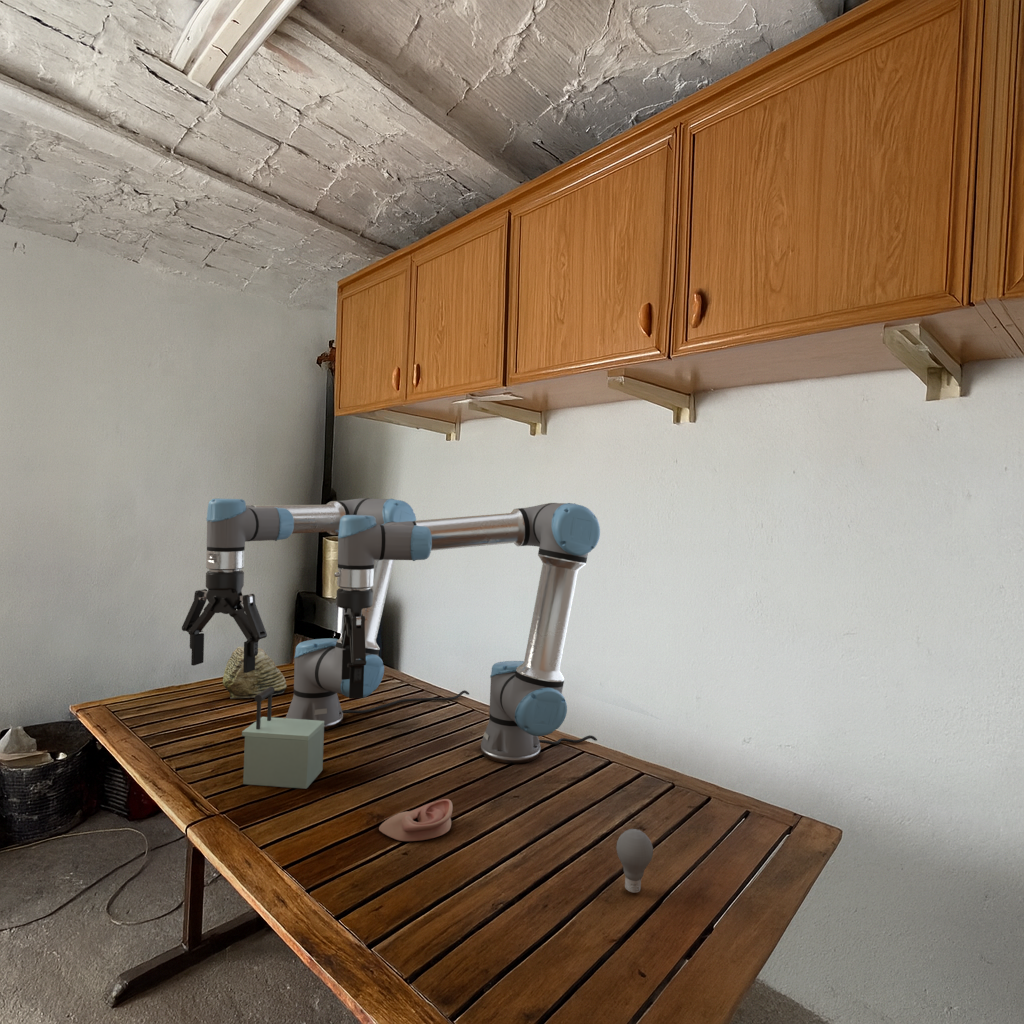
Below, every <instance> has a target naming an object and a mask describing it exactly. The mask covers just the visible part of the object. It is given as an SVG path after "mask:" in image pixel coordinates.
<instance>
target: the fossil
mask: <svg viewBox="0 0 1024 1024" xmlns="http://www.w3.org/2000/svg"><path fill="white" fill-rule="evenodd" d="M243 665H244V646H238V647H237V648H236V649H235V650H233V651H232V653H231V656H230V657H229V659H228V660H227V663H226V666H225V668H224V671H223V675H222V676H223V677H222V685H223V687H224V688H225V690H226V691H228V693H229V698H230V699H250V698H255V696H256V695H258V694H259V693H261V692H262V691H264V690H265V689H267V688H269V687H273V688H274V689H275V691H274V693H273V694H272V696H275V695H281V694H284V693H285V691H286V689H287V687H288V686H287V680H286V678H285V676H284V674H283V673H282V672H281V669H279V668H278V667H277V665H276V663H275V662H274V660H273V659H272V658H271V657H270V656H269V655H268V654H267V653H266V652H265V650H264V649H263V648H260V647H258V654H257V656H255V670H253V671H250V672H247V673H243Z"/></svg>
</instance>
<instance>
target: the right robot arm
mask: <svg viewBox="0 0 1024 1024" xmlns="http://www.w3.org/2000/svg"><path fill="white" fill-rule="evenodd" d="M600 537H601V526H600V522H599V519H598V517H596V515H595V514H594V512H593V511H592V510H591V509H590V508H588V507H587V506H584V505H581V504H577V503H576V502H575V503H571V502H567V503H566V502H549V503H542V504H537V505H534V506H527V507H521V508H520V507H519V508H514V509H513V510H512V511H511V512H508V513H507V512H506V513H495V514H484V515H483V514H482V515H481V514H480V515H471V516H470V515H469V516H458V517H457V516H456V517H444V518H434V519H431V518H430V519H421V520H419V519H418V520H416V521H407V522H386V523H384V524H382V525H376V519H375V517H374V516H368V515H344V516H343V517H342V518H341V519H340V524H339V535H337V572H334V574H333V575H334V577H335V578H336V579H337V580H336V585H337V587H338V588H337V590H336V595H335V597H336V599H335V601H336V602H335V605H336V606H337V608H339V609H343V610H344V613H343V623H342V624H343V625H342V634H341V637H342V640H341V642H342V647H343V649H345V650H342V678H341V679H342V680H346V679H350V681H349V697H348V699H350V700H353V699H364V698H363V686H364V665H366V650H365V616H363V614H362V609H363V608H369V607H371V606H372V605H373V590H372V589H371V587H373V586H374V560H394V561H413V562H416V561H425V560H427V559H429V558H430V555H431V553H432V551H442V550H454V549H465V548H476V547H484V546H497V545H507V544H514V545H515V546H516V547H538V553H537V556H538V558H539V559H540V561H541V563H542V565H541V571H540V576H539V580H538V586H537V591H536V597H535V602H534V608H533V611H532V619H531V623H530V628H529V633H528V638H527V639H528V640H527V644H526V650H525V655H524V660H503V661H498V662H495V663H494V664H492V666H491V670H490V671H491V672H490V675H489V678H490V685H489V686H490V687H489V688H490V689H489V714H488V715H489V716H488V717H489V718H488V722H487V725H486V728H485V730H484V733H483V737H482V739H481V742H480V753H481V755H482V756H483V757H485V758H486V759H488V760H490V761H494V762H496V763H502V764H511V765H513V764H514V765H515V764H524V763H529V762H533V761H535V760H537V759H538V758H539V757H540V756H541V744H547V745H551V746H558V745H559V744H560V743H561V742H567V743H571V744H581V743H583V742H585V741H587V740H589V739H591V740H593V741H595V742H596V741H598V738H597V737H595V736H594V735H585V736H584V737H582V738H580V739H579V738H578V739H572V738H571V739H570V738H566V737H561V738H559V739H558V740H557V741H551V740H546V739H539V737H545V736H549V735H551V734H553V733H554V732H555V731H557V730H558V729H559V728H560V727H561V726H562V725H563V723H564V722H565V719H566V717H567V713H568V703H567V701H566V698H565V696H564V694H563V689H564V683H565V677H564V675H563V673H562V672H561V665H562V664H561V663H562V658H563V653H564V648H565V643H566V639H567V638H566V637H567V631H568V628H569V627H568V626H569V621H570V616H571V612H572V611H571V610H572V605H573V600H574V595H575V590H576V585H577V579H578V573H579V570H581V569H582V568H583V567H584V566H586V565H587V562H588V561H587V560H588V556H589V553H591V551H592V550H593V549H595V548H596V546H597V545H598V543H599V541H600ZM356 659H359V660H356Z"/></svg>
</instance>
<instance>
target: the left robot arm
mask: <svg viewBox="0 0 1024 1024" xmlns="http://www.w3.org/2000/svg"><path fill="white" fill-rule="evenodd" d="M344 515H368V516H374V517H375V519H376V525H382V524H384V523H386V522H407V521H417V516H416V513H415V512H414V509H413V507H412V506H411V505H410V504H409V503H408V502H406V501H405V500H401V499H395V498H372V497H371V498H370V497H361V498H354V499H353V498H351V499H345V500H331V501H329V502H327V503H326V504H255V505H254V504H252V505H247V503H246V500H245V499H243V498H241V499H240V498H212V499H210V500H209V502H208V504H207V512H206V518H205V519H206V520H205V521H206V558H205V559H206V563H205V564H206V569H207V571H206V572H205V588H203V589H197V590H195V591H194V596H193V601H192V603H191V606H190V608H189V609H188V612H187V614H186V617H185V619H184V621H183V623H182V626H181V630H182V632H187V633H188V635H189V649H190V650H191V657H190V658H191V663H190V664H191V666H197V665H199V664H200V665H201V664H203V663H204V662H205V661H204V657H205V656H204V655H205V654H204V653H205V649H204V648H205V633H204V631H203V630H204V628H206V625H207V624H208V623H209V622H210V620H211V619H212V618H213V617H214V616H215V614H223V615H229V616H230V617H231V618H233V620H234V622H235V623H236V624H237V627H238V628H239V629H240V631H241V632H242V634H243V635H244V637H245V639H246V641H244V642H243V647H244V665H243V673H247V672H250V671H253V670H255V656H257V654H258V648H259V641H260V640H262V639H265V638H267V637H268V633H267V631H266V628H265V625H264V622H263V619H262V618H261V615H260V612H259V609H258V607H257V605H256V595H255V594H254V593H248V594H243V592H242V590H243V587H244V586H245V572H244V570H242V569H244V568H245V549H246V542H265V541H274V542H277V541H282V540H287V539H288V538H289V537H291V536H292V535H293V534H313V533H328V534H329V535H332V536H338V535H339V524H340V519H341V518H342V517H343V516H344ZM394 563H395V560H374V586H373V587H371V589H372V590H373V605H372V606H371V607H369V608H363V609H362V614H363V616H365V650H366V665H364V686H363V698H362V699H365V698H367V697H369V696H370V695H372V694H373V692H375V691H376V690H377V689H378V687H379V686H380V684H381V683H382V680H383V677H384V674H385V665H384V662H383V659H382V658H381V657H380V656H379V654H380V650H381V648H380V646H379V645H378V643H377V638H378V634H379V629H380V625H381V620H382V616H383V611H384V607H385V603H386V598H387V594H388V589H389V586H390V581H391V577H392V571H393V568H394ZM207 602H208V603H207ZM206 603H207V604H206ZM341 640H342V636H341V637H340V638H339V639H338V638H335V637H334V638H331V637H329V638H315V639H308V640H304V641H301V642H299V643H298V644H297V645H296V646H295V652H294V656H293V659H294V661H293V662H294V668H293V669H294V670H293V695H292V696H293V697H292V699H291V702H290V704H289V708H288V711H287V713H286V715H285V718H289V719H304V720H319V721H324V732H325V731H329V730H332V729H335V728H337V727H339V726H340V725H342V723H343V722H344V714H366V713H371V712H375V711H378V710H380V709H383V708H384V709H385V708H388V707H390V706H393V705H397V704H400V703H401V704H402V703H407V702H427V701H429V702H430V701H453V700H457V699H458V698H460V697H461V696H462V695H463V694H466V695H467V696H468V695H470V692H469V691H467V690H462V691H460V692H459V693H458V694H457V695H454V696H450V697H413V698H403V699H398V700H394V701H391V702H388V703H385V704H384V703H383V704H380V705H378V706H375V707H371V708H367V709H359V710H357V709H356V710H355V709H346V710H345V709H342V706H341V702H340V699H339V695H343V696H344V697H346V698H349V681H350V679H346V680H342V679H341V678H342V650H345V649H343V647H342V642H341ZM356 660H359V659H356ZM338 694H339V695H338Z"/></svg>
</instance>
